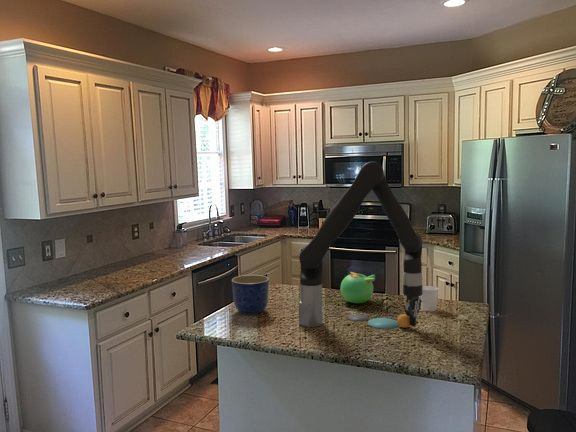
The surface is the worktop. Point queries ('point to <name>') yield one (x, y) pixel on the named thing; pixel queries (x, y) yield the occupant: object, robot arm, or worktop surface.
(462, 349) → the worktop surface
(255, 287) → the planter
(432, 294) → the white cup
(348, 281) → the toy bird
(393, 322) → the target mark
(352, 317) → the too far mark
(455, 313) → the worktop surface
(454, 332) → the worktop surface
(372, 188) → the robot arm
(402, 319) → the ball
